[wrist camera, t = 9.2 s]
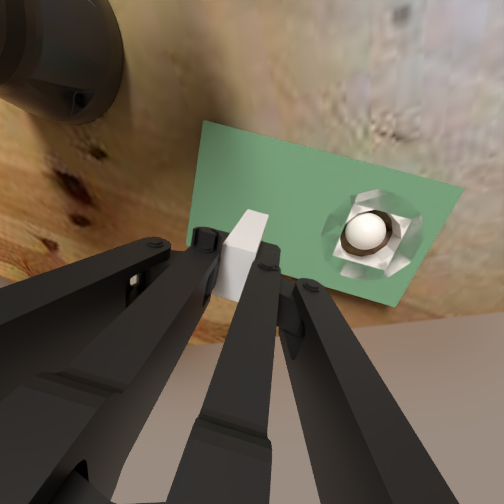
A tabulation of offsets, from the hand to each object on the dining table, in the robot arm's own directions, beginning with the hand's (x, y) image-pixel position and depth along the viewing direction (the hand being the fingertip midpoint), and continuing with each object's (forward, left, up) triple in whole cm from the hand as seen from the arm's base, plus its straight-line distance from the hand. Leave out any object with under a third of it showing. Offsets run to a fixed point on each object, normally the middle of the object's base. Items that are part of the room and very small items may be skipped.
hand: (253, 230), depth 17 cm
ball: (+11, 0, -11) cm, 15 cm away
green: (+4, -1, -13) cm, 14 cm away
